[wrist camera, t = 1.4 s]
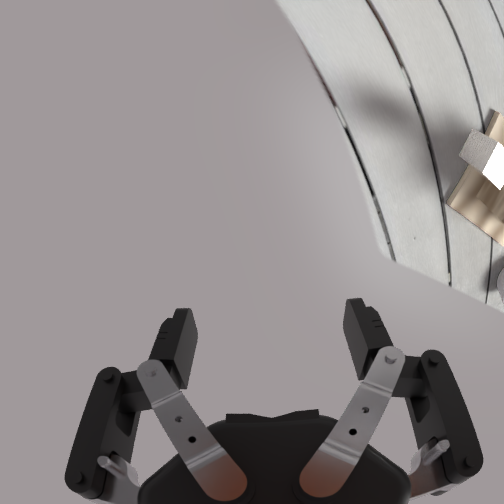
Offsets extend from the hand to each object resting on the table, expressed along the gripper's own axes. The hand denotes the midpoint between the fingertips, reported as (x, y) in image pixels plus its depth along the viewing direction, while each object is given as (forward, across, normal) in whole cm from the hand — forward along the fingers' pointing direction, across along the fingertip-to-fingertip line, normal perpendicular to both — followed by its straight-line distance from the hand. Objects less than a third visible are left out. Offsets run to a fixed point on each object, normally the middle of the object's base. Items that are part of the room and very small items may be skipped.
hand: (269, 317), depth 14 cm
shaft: (+16, -36, -3) cm, 39 cm away
